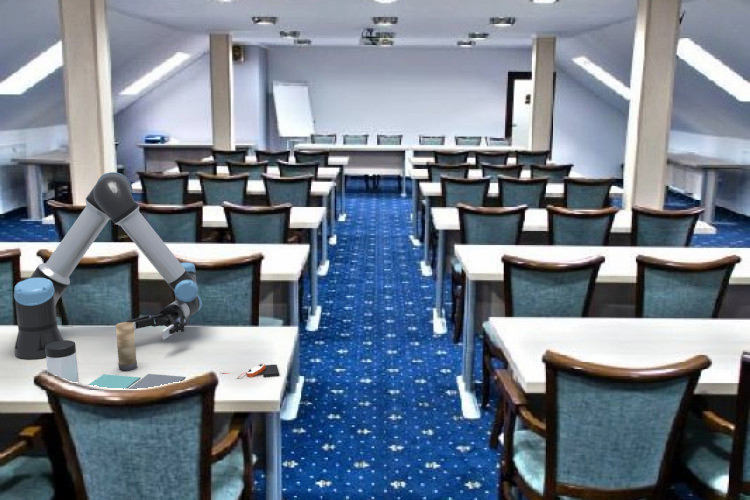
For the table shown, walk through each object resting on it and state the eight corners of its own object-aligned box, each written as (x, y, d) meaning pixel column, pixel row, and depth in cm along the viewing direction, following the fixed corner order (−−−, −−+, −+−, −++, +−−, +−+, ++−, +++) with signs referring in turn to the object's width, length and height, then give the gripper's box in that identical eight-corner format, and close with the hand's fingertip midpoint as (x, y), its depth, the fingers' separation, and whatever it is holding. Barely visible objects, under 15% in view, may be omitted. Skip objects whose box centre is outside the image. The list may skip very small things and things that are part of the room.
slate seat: (127, 390, 217) (127, 389, 217) (148, 375, 229) (148, 373, 229) (166, 393, 215) (166, 392, 215) (185, 378, 226) (185, 376, 226)
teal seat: (80, 390, 217) (80, 389, 217) (103, 375, 229) (103, 374, 229) (119, 394, 215) (119, 392, 215) (140, 378, 226) (140, 377, 226)
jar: (71, 375, 229) (67, 337, 226) (85, 382, 224) (82, 343, 221) (42, 384, 222) (38, 345, 219) (56, 391, 217) (52, 351, 214)
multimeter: (217, 387, 221) (216, 375, 220) (219, 371, 233) (219, 361, 232) (279, 384, 223) (279, 373, 223) (278, 369, 235) (278, 358, 234)
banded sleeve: (115, 370, 233) (111, 326, 230) (124, 364, 238) (121, 321, 235) (131, 371, 231) (128, 327, 228) (140, 365, 237) (137, 322, 234)
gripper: (208, 326, 262) (180, 347, 241) (142, 322, 267) (109, 342, 247) (207, 305, 260) (179, 324, 240) (140, 301, 265) (107, 320, 245)
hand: (143, 333), depth 243 cm, fingers open, 13 cm apart
